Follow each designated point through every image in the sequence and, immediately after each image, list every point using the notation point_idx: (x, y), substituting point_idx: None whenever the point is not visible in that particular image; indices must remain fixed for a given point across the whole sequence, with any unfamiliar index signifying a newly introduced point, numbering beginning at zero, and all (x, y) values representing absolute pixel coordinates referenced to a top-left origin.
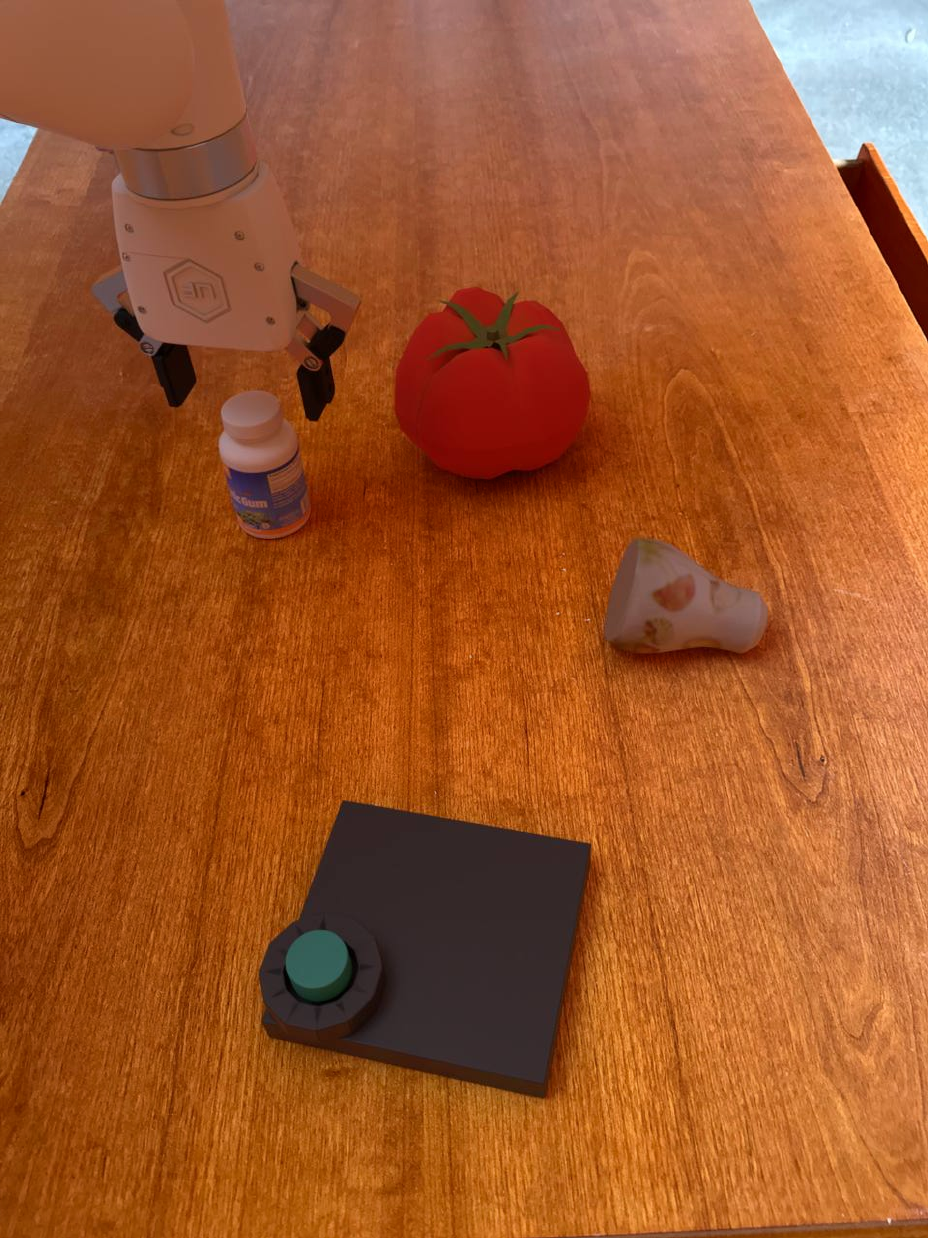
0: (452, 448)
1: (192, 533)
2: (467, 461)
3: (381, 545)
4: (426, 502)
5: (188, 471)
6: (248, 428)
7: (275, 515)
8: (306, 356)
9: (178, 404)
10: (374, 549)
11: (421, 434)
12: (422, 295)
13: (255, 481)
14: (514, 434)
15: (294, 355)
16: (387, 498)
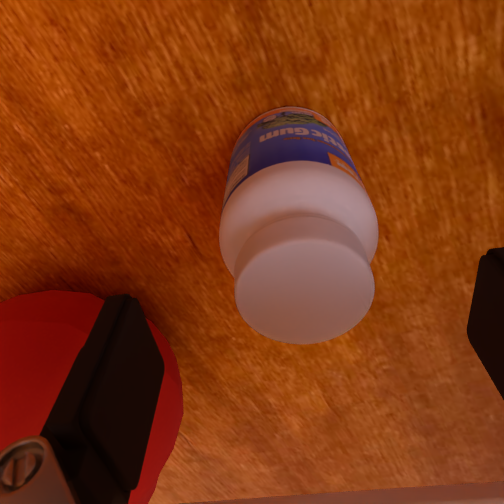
0: (15, 318)
1: (405, 81)
2: (13, 306)
3: (105, 156)
4: (104, 246)
5: (460, 203)
6: (275, 240)
7: (251, 134)
8: (16, 492)
9: (488, 256)
10: (109, 146)
11: (79, 330)
12: (291, 475)
13: (269, 156)
14: None
15: (61, 488)
16: (155, 238)
